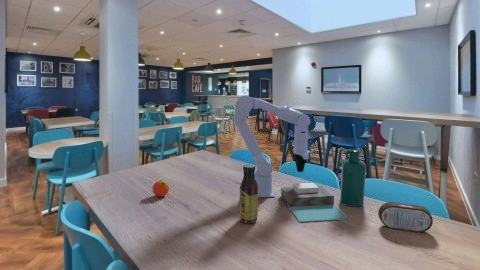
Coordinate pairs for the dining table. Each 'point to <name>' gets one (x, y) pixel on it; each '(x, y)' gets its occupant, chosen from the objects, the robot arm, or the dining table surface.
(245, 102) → the robot arm
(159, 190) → the clementine
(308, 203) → the grey flat block
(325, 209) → the mat
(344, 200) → the green bottle
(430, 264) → the dining table surface
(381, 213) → the tin
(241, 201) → the sauce bottle
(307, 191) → the white block
